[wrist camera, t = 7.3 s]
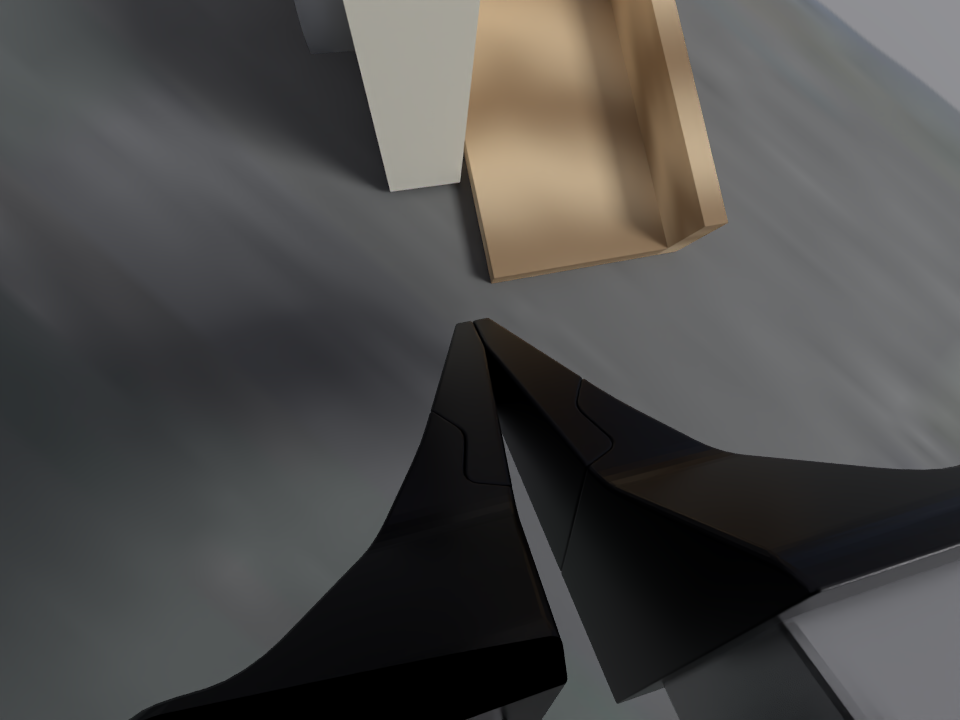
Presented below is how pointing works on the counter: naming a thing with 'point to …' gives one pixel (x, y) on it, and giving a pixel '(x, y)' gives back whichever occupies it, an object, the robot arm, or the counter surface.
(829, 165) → the counter surface
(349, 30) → the door panel
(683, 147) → the cabinet corner
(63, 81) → the counter surface
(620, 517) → the robot arm
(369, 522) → the counter surface
